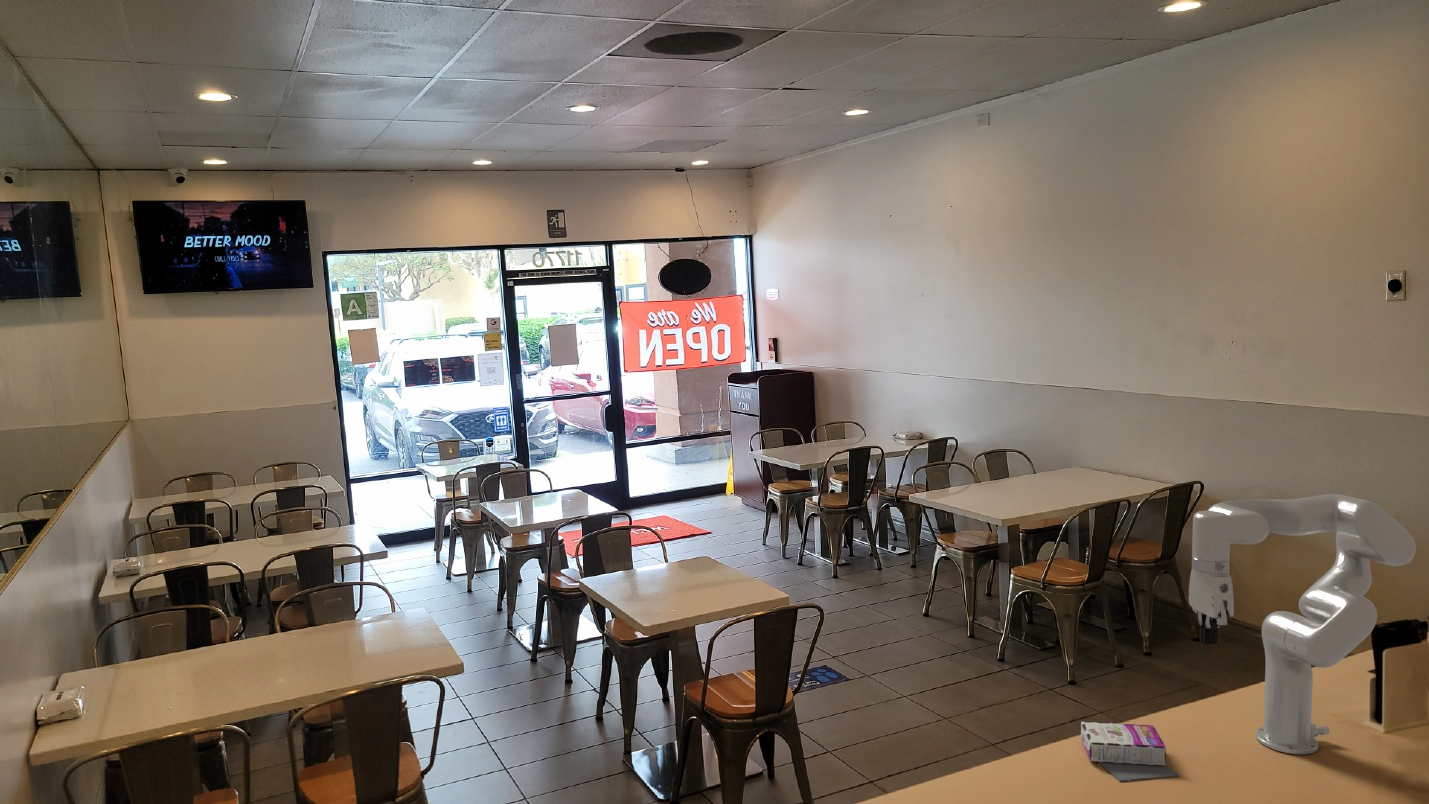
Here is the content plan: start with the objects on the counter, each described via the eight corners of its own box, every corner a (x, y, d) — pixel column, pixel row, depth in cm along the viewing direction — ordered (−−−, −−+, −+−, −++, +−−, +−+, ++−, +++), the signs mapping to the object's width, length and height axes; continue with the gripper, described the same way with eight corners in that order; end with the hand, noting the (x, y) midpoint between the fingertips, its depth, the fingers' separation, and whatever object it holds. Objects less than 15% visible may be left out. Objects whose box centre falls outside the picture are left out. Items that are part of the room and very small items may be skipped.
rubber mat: (1142, 746, 218) (1142, 745, 218) (1178, 776, 204) (1178, 774, 204) (1087, 751, 216) (1087, 750, 216) (1119, 781, 202) (1119, 780, 202)
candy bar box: (1153, 744, 218) (1080, 739, 221) (1153, 724, 217) (1080, 719, 221) (1165, 768, 207) (1089, 762, 211) (1166, 747, 207) (1089, 741, 210)
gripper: (1248, 573, 202) (1246, 653, 204) (1204, 555, 216) (1203, 630, 218) (1216, 575, 201) (1214, 656, 203) (1175, 557, 216) (1173, 632, 217)
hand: (1208, 642), depth 210 cm, fingers closed
